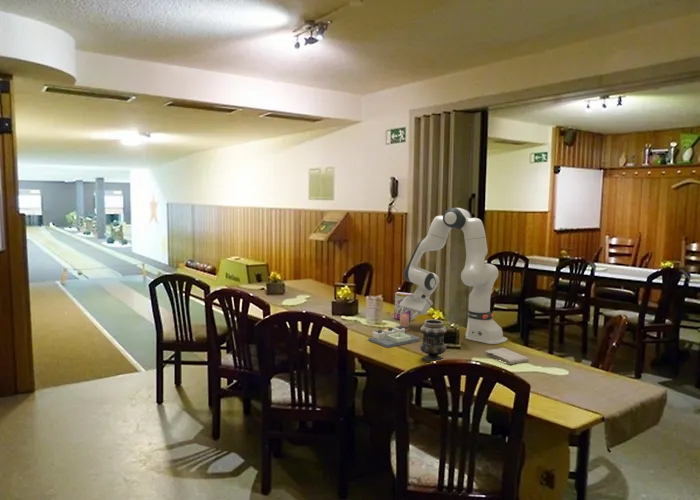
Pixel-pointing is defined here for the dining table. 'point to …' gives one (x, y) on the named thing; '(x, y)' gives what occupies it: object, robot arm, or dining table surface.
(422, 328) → the apothecary jar
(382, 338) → the board
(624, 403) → the dining table surface
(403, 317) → the lockout cap
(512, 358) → the washcloth
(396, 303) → the candy bar box
